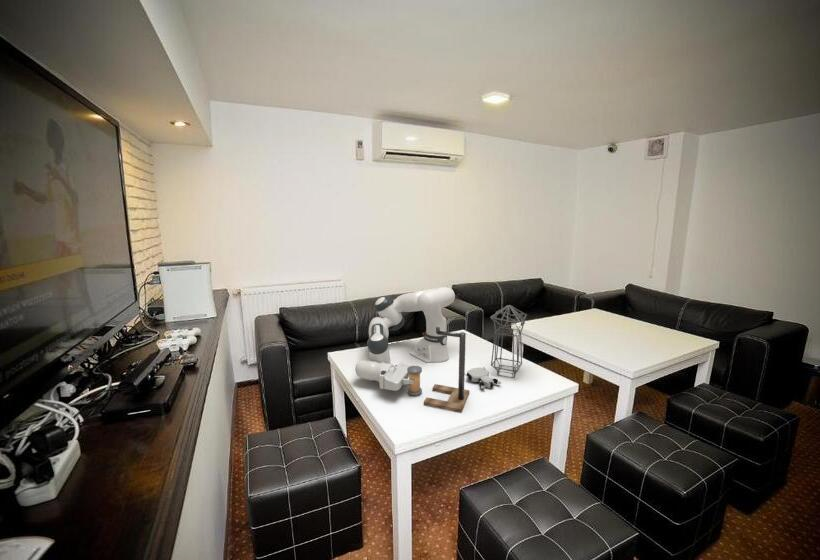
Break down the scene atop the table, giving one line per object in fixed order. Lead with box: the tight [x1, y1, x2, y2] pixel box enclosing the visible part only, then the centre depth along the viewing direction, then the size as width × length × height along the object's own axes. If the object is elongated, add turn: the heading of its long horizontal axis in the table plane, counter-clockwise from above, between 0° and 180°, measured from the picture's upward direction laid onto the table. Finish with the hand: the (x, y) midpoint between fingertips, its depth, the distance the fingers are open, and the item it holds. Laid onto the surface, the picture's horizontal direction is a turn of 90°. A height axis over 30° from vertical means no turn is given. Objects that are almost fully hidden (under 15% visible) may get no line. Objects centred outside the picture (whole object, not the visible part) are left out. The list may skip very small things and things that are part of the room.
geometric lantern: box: [489, 304, 528, 379], centre depth 164 cm, size 16×16×35 cm
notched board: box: [423, 383, 470, 414], centre depth 144 cm, size 16×16×2 cm
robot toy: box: [465, 366, 502, 390], centre depth 157 cm, size 12×4×15 cm
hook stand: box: [436, 327, 467, 400], centre depth 140 cm, size 12×2×30 cm, turn 69°
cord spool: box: [406, 365, 423, 397], centre depth 148 cm, size 6×6×11 cm
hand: (416, 378), depth 147 cm, fingers closed on cord spool, 5 cm apart
